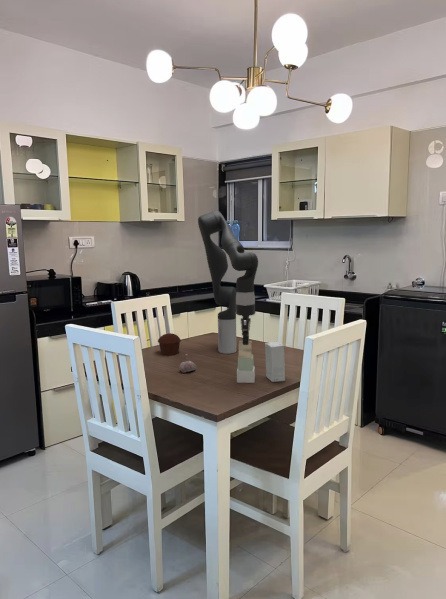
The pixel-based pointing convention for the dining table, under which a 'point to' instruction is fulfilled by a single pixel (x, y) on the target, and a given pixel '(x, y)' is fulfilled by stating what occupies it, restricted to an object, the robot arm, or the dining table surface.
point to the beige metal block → (245, 350)
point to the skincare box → (275, 361)
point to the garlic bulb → (187, 366)
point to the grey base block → (246, 376)
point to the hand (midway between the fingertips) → (245, 342)
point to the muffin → (169, 344)
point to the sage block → (245, 364)
